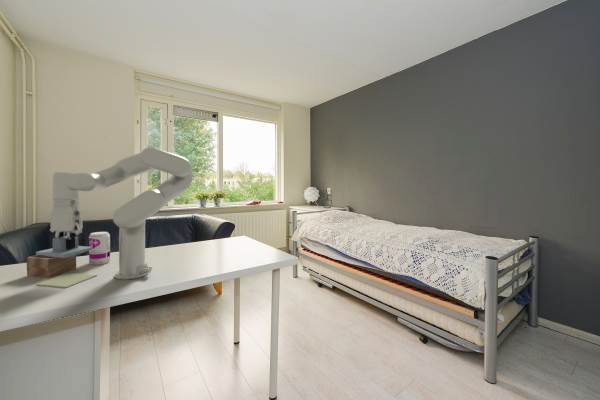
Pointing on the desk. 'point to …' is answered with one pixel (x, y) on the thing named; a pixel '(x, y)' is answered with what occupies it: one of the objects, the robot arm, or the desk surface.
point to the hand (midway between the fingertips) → (66, 247)
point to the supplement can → (99, 248)
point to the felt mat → (66, 280)
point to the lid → (63, 249)
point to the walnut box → (49, 266)
